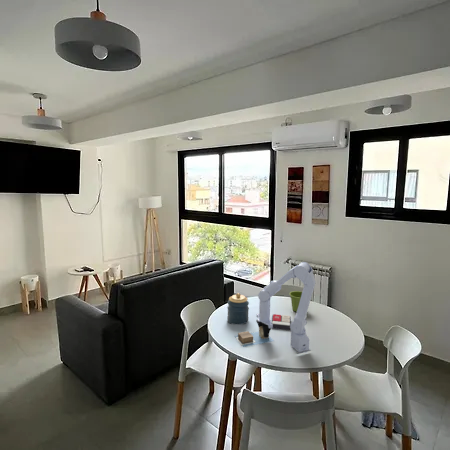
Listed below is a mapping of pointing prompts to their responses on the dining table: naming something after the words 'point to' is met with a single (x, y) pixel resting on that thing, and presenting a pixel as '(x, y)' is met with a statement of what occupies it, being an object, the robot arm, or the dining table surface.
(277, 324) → the multicoloured piece
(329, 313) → the dining table surface
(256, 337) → the board
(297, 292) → the plant pot
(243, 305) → the canister
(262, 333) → the maple block
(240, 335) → the walnut base
